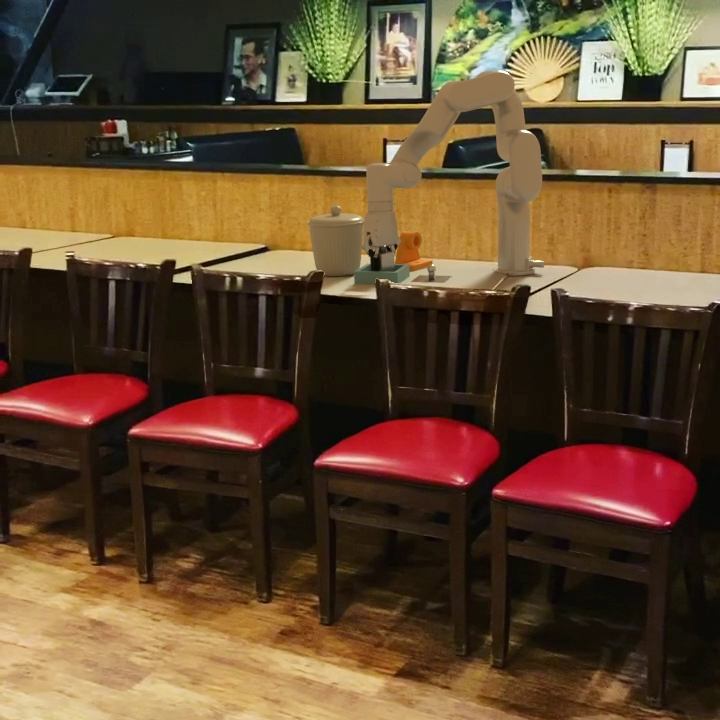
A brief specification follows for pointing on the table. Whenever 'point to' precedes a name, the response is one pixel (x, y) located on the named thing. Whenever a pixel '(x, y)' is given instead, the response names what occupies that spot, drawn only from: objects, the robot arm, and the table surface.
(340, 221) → the canister
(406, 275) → the bin
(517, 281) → the table surface
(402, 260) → the bracket
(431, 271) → the stud mount
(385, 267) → the strut socket
